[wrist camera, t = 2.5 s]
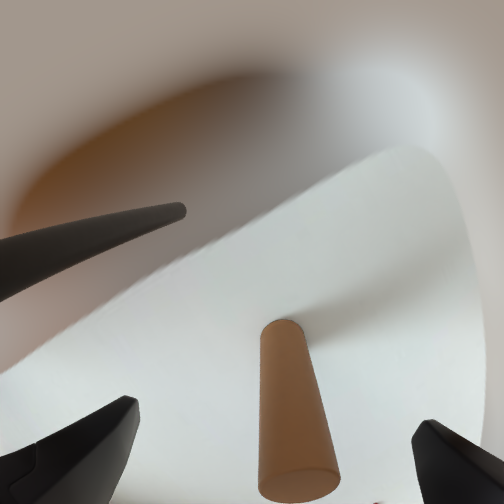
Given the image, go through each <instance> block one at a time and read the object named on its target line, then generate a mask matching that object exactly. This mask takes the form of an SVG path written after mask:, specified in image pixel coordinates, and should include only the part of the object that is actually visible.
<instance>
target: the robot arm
mask: <svg viewBox="0 0 504 504" xmlns="http://www.w3.org/2000/svg"><path fill="white" fill-rule="evenodd" d="M139 423H140V412H139V403H138V400H137V399H136V398H133V397H130V396H126V395H125V396H122V397H120V398H118V399H117V400H115V401H113V402H111V403H109V404H108V405H106V406H104V407H102V408H101V409H99V410H97V411H95V412H93V413H91V414H90V415H88V416H86V417H84V418H82V419H80V420H78V421H77V422H75V423H73V424H71V425H69V426H67V427H65V428H63V429H61V430H59V431H57V432H55V433H53V434H51V435H49V436H47V437H45V438H43V439H41V440H39V441H37V442H36V444H35V443H33V444H31V445H29V446H27V447H25V448H22V449H20V450H18V451H15V452H13V453H10V454H7V455H4V456H1V457H0V504H109V501H110V499H111V497H112V495H113V493H114V490H115V488H116V486H117V484H118V482H119V480H120V477H121V475H122V473H123V471H124V469H125V466H126V464H127V461H128V458H129V455H130V452H131V449H132V445H133V442H134V439H135V436H136V433H137V429H138V426H139ZM411 444H412V449H413V454H414V460H415V466H416V473H417V478H418V482H419V486H420V490H421V493H422V497H423V502H424V504H504V462H503V461H502V460H501V459H499V458H497V457H495V456H494V455H492V454H490V453H489V452H487V451H485V450H483V449H482V448H480V447H478V446H477V445H475V444H473V443H472V442H470V441H468V440H467V439H465V438H463V437H462V436H460V435H458V434H457V433H455V432H454V431H452V430H450V429H449V428H447V427H445V426H444V425H442V424H441V423H439V422H437V421H436V420H434V419H430V420H424V421H423V422H422V423H421V424H420V426H419V427H418V429H417V430H416V432H415V433H414V435H413V436H412V440H411Z"/></svg>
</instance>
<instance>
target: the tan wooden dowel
mask: <svg viewBox="0 0 504 504" xmlns="http://www.w3.org/2000/svg"><path fill="white" fill-rule="evenodd" d="M340 480H341V476H340V472H339V468H338V463H337V459H336V455H335V451H334V447H333V443H332V439H331V435H330V431H329V427H328V423H327V419H326V415H325V411H324V407H323V403H322V399H321V396H320V392H319V388H318V384H317V380H316V377H315V373H314V369H313V366H312V362H311V358H310V355H309V351H308V347H307V344H306V340H305V336H304V333H303V330H302V329H301V327H300V326H299V325H298V324H296V323H295V322H293V321H290V320H277V321H274V322H272V323H270V324H269V325H267V326H266V327H265V328H264V330H263V331H262V334H261V338H260V413H259V467H258V490H259V492H260V494H261V495H262V496H263V497H265V498H266V499H268V500H271V501H274V502H278V503H288V504H293V503H304V502H309V501H313V500H316V499H319V498H322V497H324V496H326V495H328V494H330V493H331V492H332V491H334V490H335V489H336V488H337V487H338V485H339V483H340Z"/></svg>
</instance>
